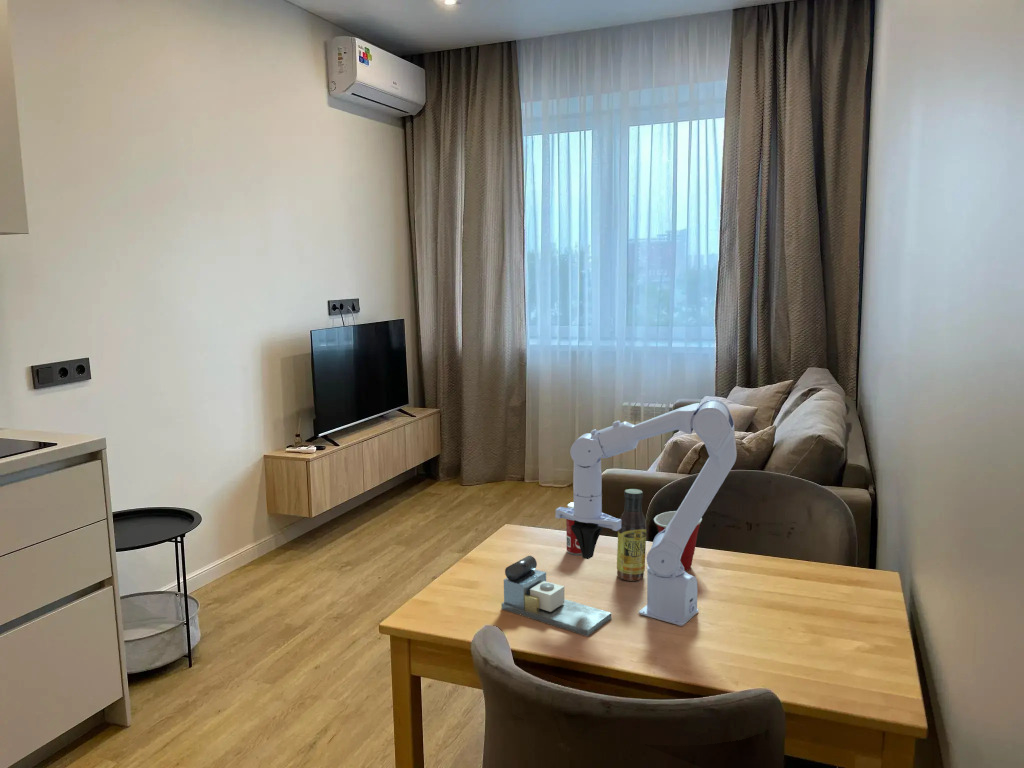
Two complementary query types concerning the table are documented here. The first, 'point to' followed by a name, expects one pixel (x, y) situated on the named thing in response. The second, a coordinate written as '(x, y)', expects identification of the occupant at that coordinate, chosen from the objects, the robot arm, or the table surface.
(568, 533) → the soda can
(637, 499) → the sauce bottle
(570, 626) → the base
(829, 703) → the table surface
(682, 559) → the plastic cup
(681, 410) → the robot arm
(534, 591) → the white button box
